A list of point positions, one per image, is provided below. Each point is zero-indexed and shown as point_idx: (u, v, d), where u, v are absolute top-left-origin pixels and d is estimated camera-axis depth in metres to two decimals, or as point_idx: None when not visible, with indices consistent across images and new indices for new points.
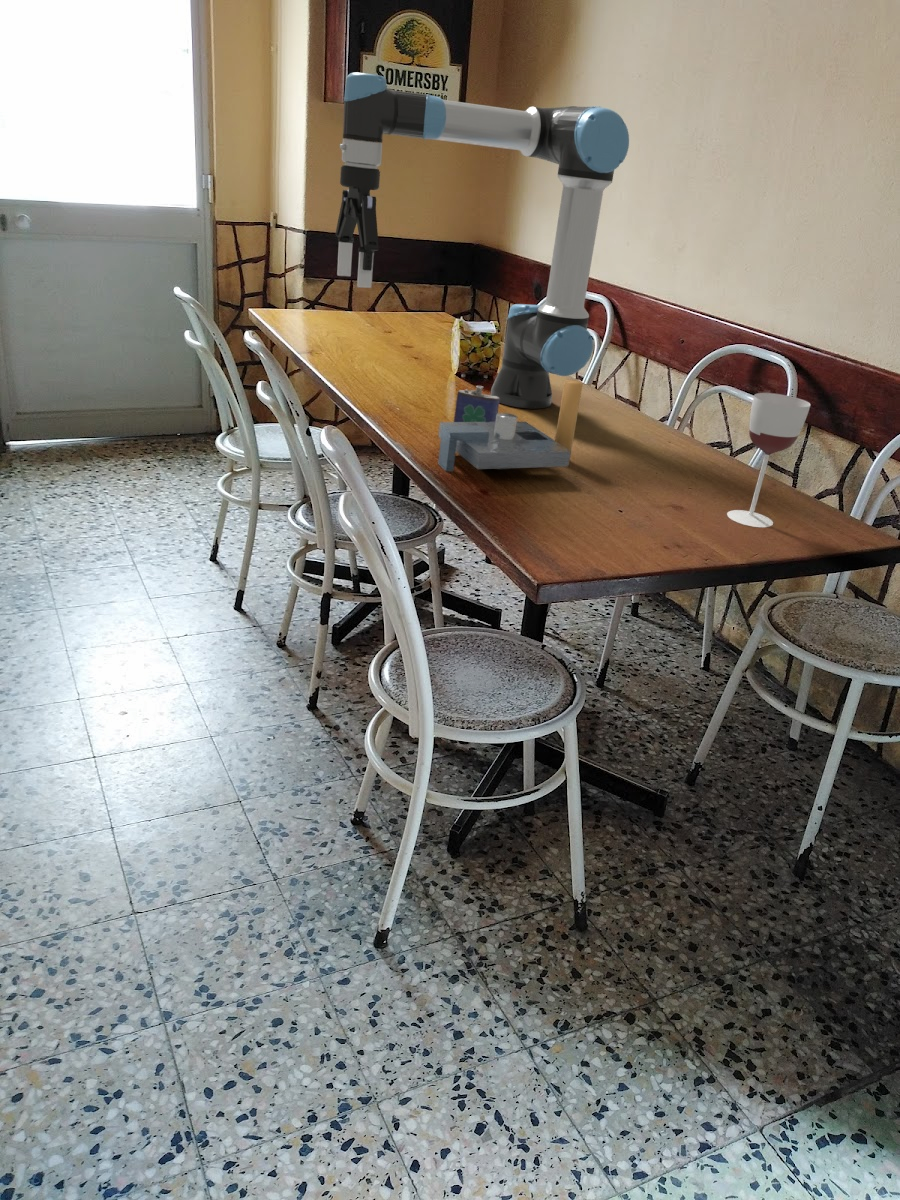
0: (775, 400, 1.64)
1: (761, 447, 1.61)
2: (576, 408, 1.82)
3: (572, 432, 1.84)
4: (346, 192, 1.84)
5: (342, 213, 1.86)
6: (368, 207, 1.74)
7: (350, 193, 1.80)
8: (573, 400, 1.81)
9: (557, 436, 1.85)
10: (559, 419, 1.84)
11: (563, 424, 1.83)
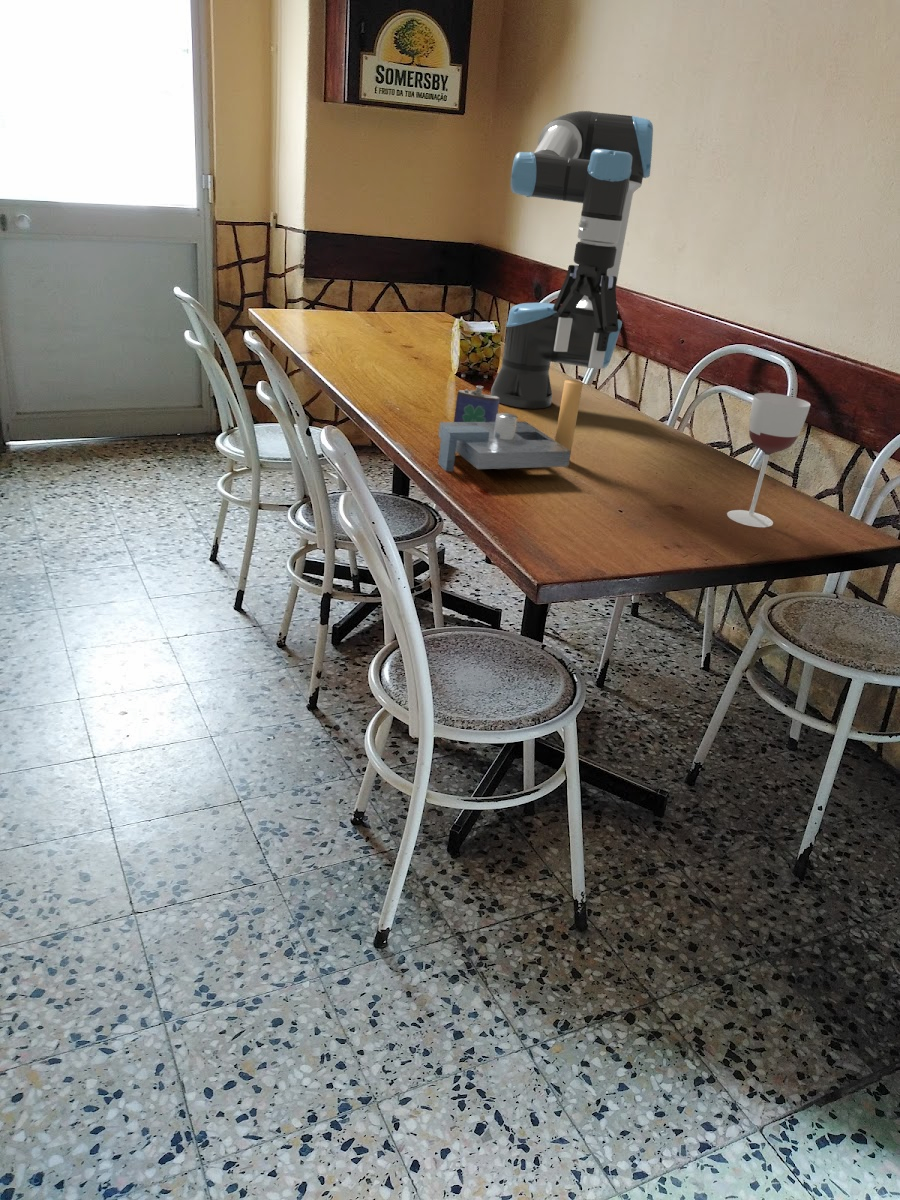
0: (775, 400, 1.64)
1: (761, 447, 1.61)
2: (576, 408, 1.82)
3: (572, 432, 1.84)
4: (573, 268, 1.76)
5: (565, 288, 1.79)
6: (608, 287, 1.67)
7: (581, 270, 1.73)
8: (573, 400, 1.81)
9: (557, 436, 1.85)
10: (559, 419, 1.84)
11: (563, 424, 1.83)
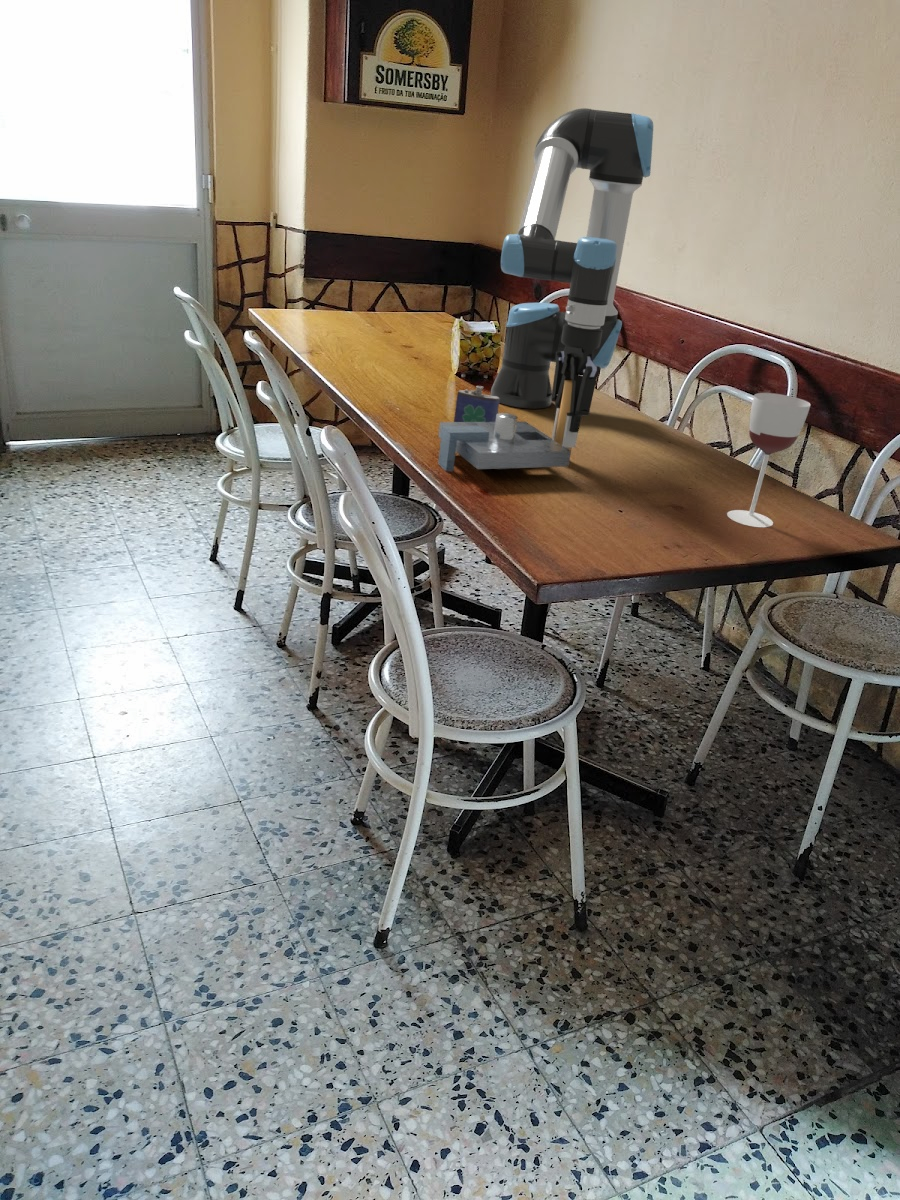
0: (775, 400, 1.64)
1: (761, 447, 1.61)
2: None
3: None
4: (560, 352, 1.83)
5: (558, 374, 1.84)
6: (590, 376, 1.75)
7: (568, 346, 1.80)
8: None
9: (557, 436, 1.85)
10: (559, 419, 1.84)
11: (563, 424, 1.83)
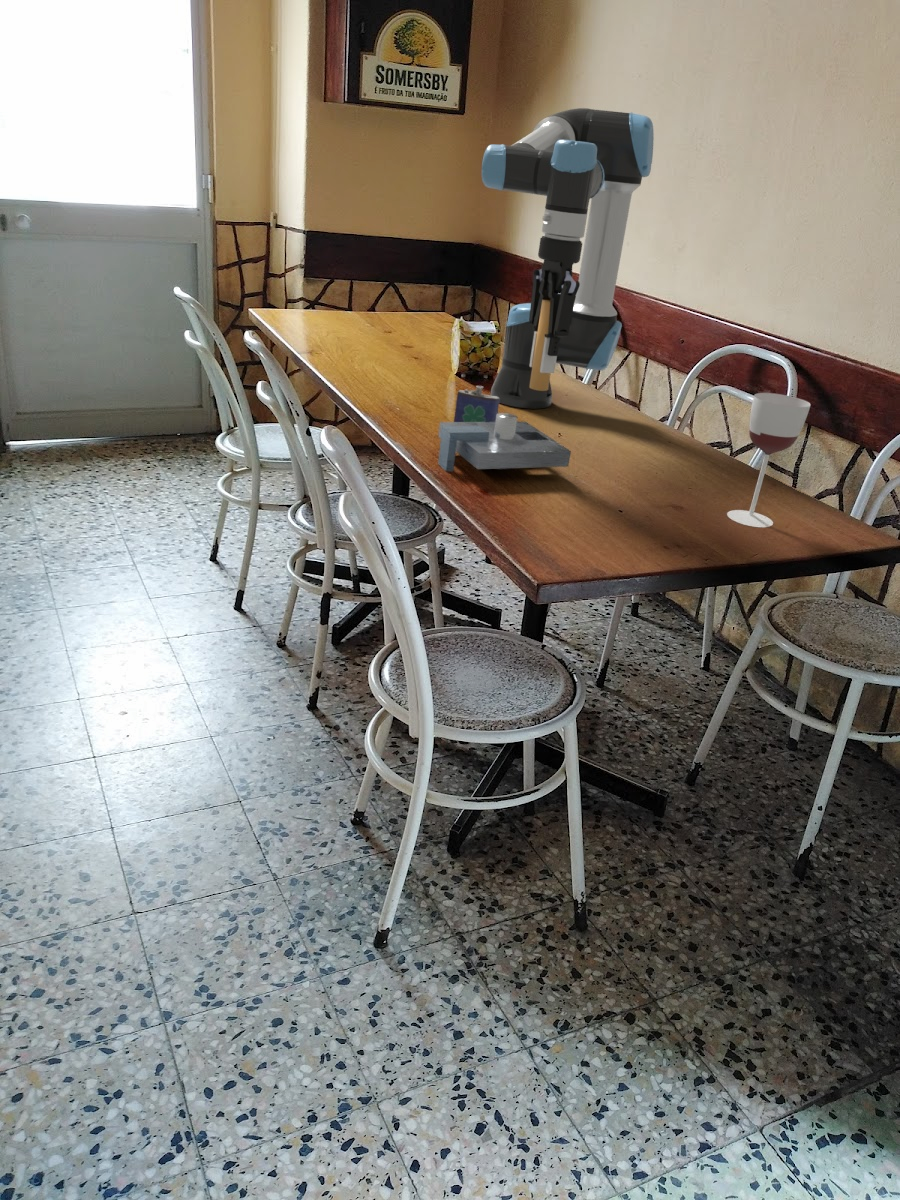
0: (775, 400, 1.64)
1: (761, 447, 1.61)
2: None
3: None
4: (537, 271, 1.71)
5: (536, 294, 1.72)
6: (569, 292, 1.63)
7: (545, 262, 1.68)
8: None
9: (535, 361, 1.73)
10: (537, 342, 1.71)
11: (541, 348, 1.71)
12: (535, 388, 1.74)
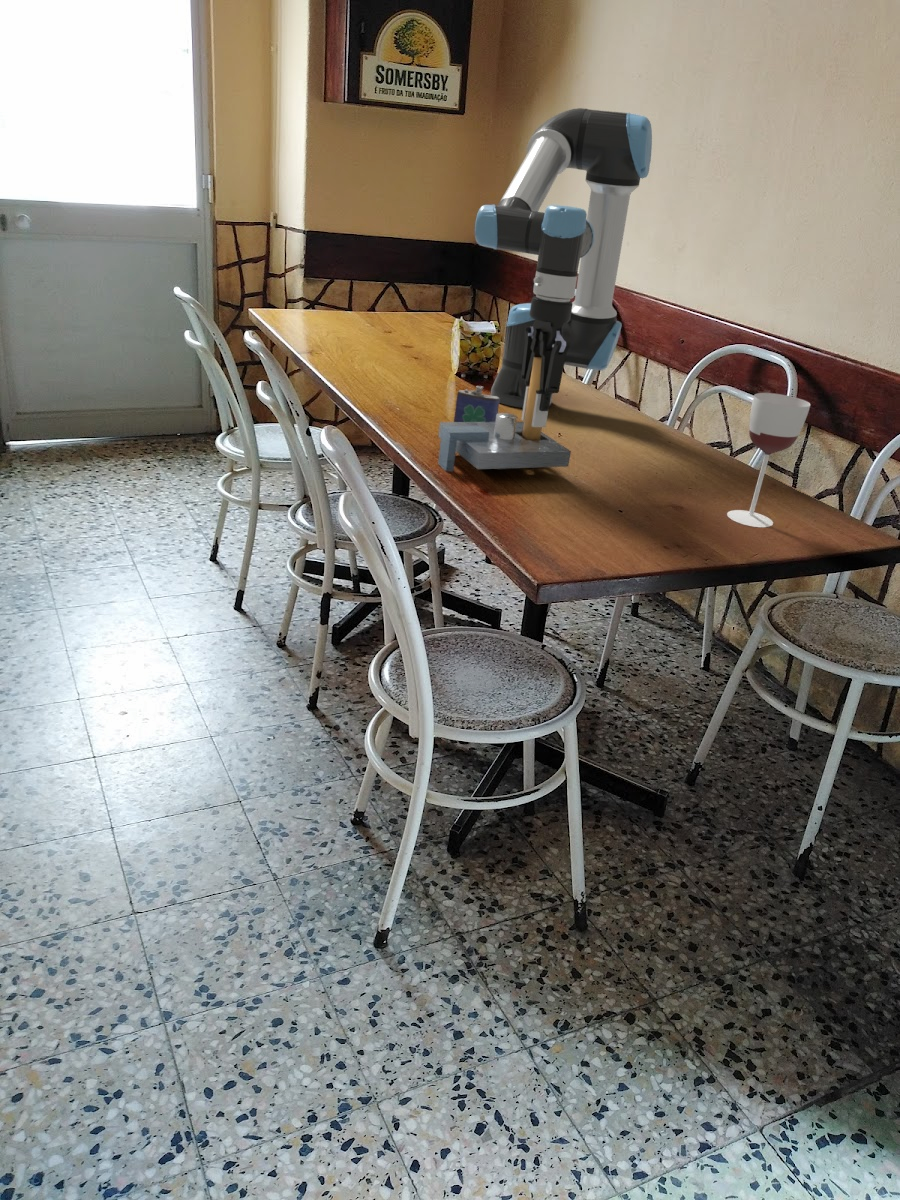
0: (775, 400, 1.64)
1: (761, 447, 1.61)
2: None
3: None
4: (529, 328, 1.76)
5: (527, 351, 1.76)
6: (559, 352, 1.68)
7: (537, 321, 1.72)
8: None
9: (526, 416, 1.77)
10: (528, 398, 1.76)
11: (532, 403, 1.76)
12: None
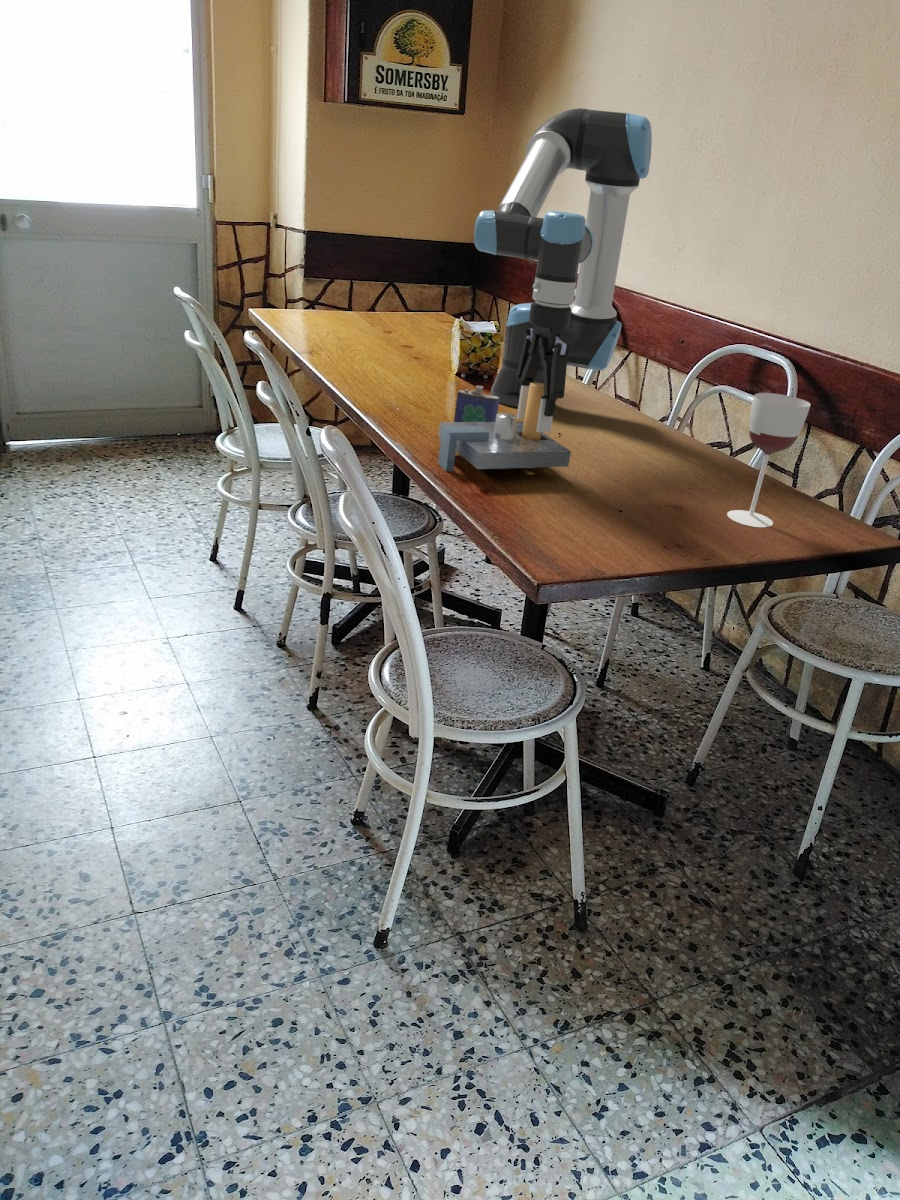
0: (775, 400, 1.64)
1: (761, 447, 1.61)
2: None
3: (538, 436, 1.79)
4: (529, 330, 1.76)
5: (525, 352, 1.78)
6: (560, 354, 1.67)
7: (536, 327, 1.72)
8: (539, 403, 1.75)
9: None
10: (525, 423, 1.78)
11: (529, 429, 1.78)
12: None
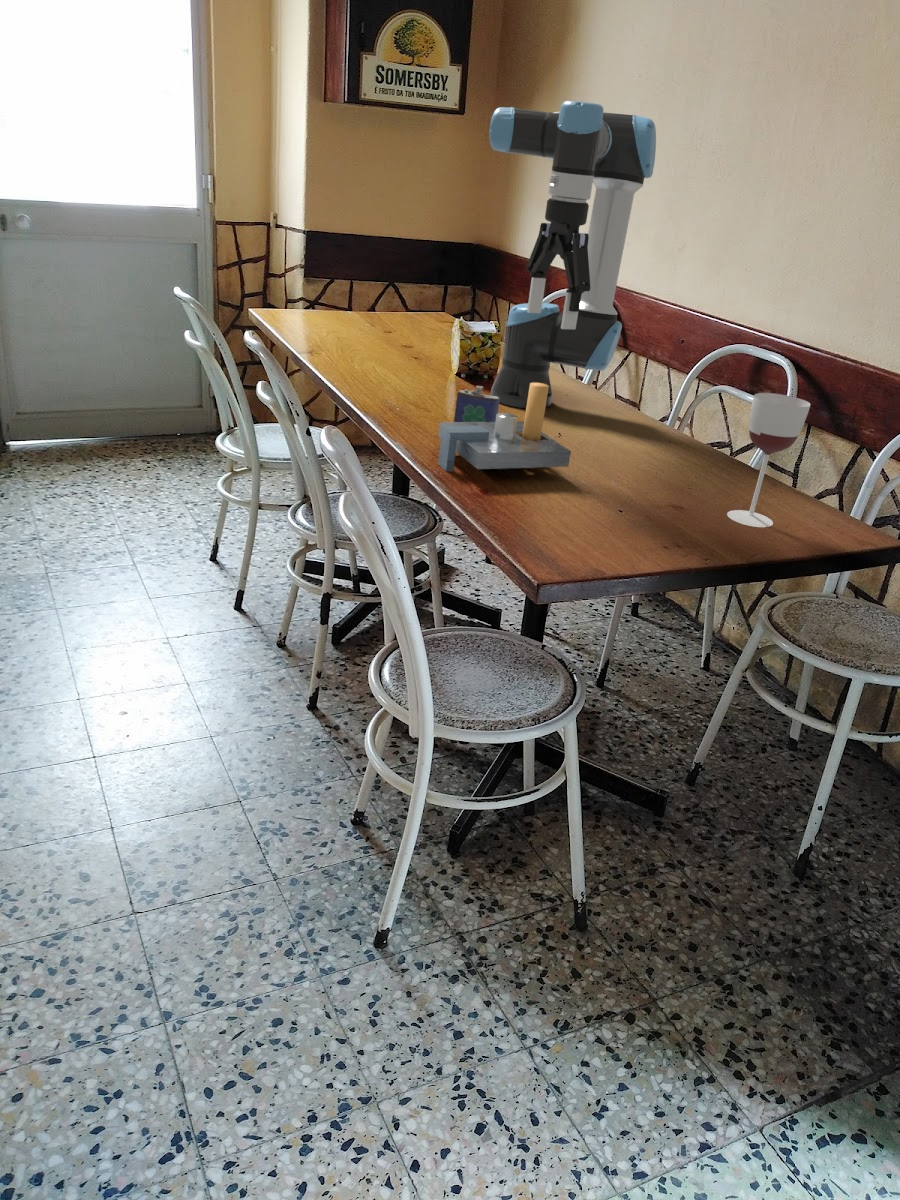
0: (775, 400, 1.64)
1: (761, 447, 1.61)
2: (542, 412, 1.77)
3: (538, 436, 1.79)
4: (545, 226, 1.72)
5: (538, 247, 1.75)
6: (580, 245, 1.63)
7: (553, 228, 1.69)
8: (539, 403, 1.75)
9: None
10: (525, 423, 1.78)
11: (529, 429, 1.78)
12: None
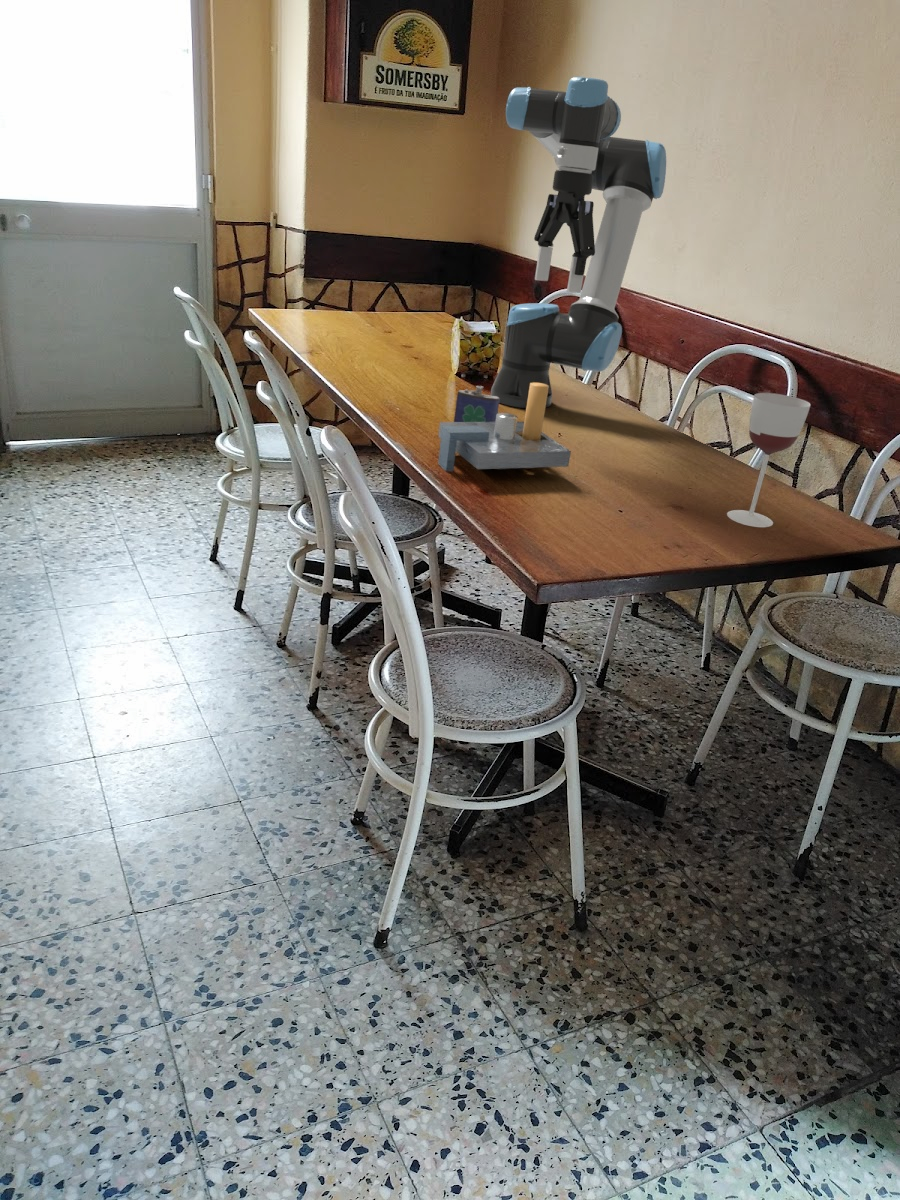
0: (775, 400, 1.64)
1: (761, 447, 1.61)
2: (542, 412, 1.77)
3: (538, 436, 1.79)
4: (552, 197, 1.83)
5: (545, 218, 1.86)
6: (585, 212, 1.74)
7: (560, 198, 1.80)
8: (539, 403, 1.75)
9: None
10: (525, 423, 1.78)
11: (529, 429, 1.78)
12: None
